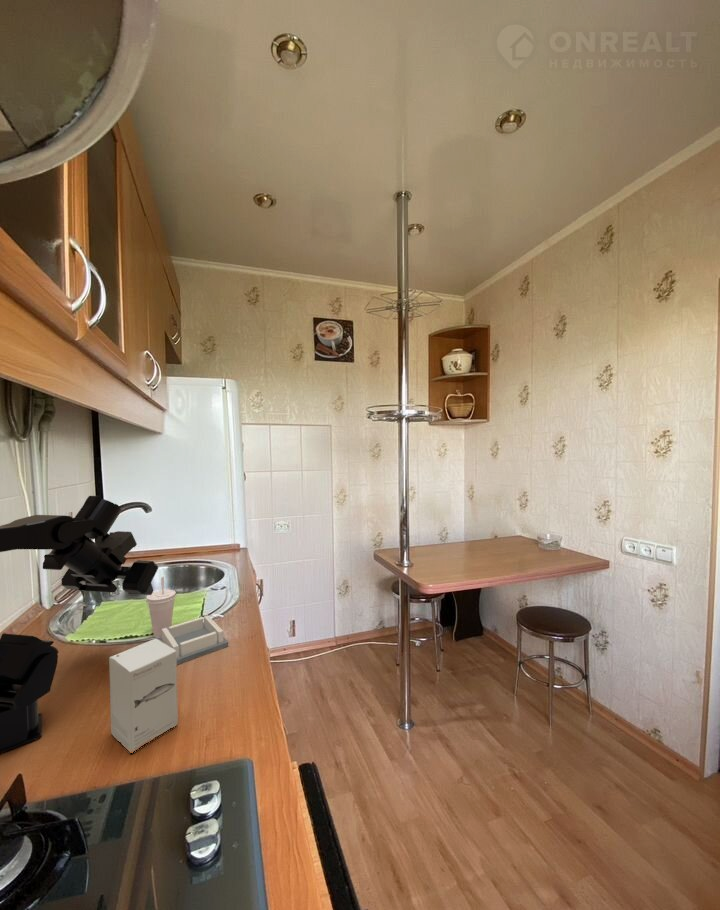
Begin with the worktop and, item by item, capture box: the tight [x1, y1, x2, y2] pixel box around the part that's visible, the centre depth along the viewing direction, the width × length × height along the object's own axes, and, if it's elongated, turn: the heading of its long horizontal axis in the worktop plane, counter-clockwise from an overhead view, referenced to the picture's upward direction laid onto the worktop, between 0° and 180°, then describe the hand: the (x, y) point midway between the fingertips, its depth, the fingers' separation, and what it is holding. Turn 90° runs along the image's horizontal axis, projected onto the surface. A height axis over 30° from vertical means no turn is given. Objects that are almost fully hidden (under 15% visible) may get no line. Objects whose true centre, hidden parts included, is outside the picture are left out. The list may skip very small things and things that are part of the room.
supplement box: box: [108, 637, 179, 752], centre depth 60 cm, size 7×7×13 cm
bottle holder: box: [157, 614, 229, 666], centre depth 86 cm, size 12×12×4 cm
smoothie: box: [145, 576, 177, 639], centre depth 91 cm, size 6×6×14 cm
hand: (133, 591), depth 83 cm, fingers open, 9 cm apart
